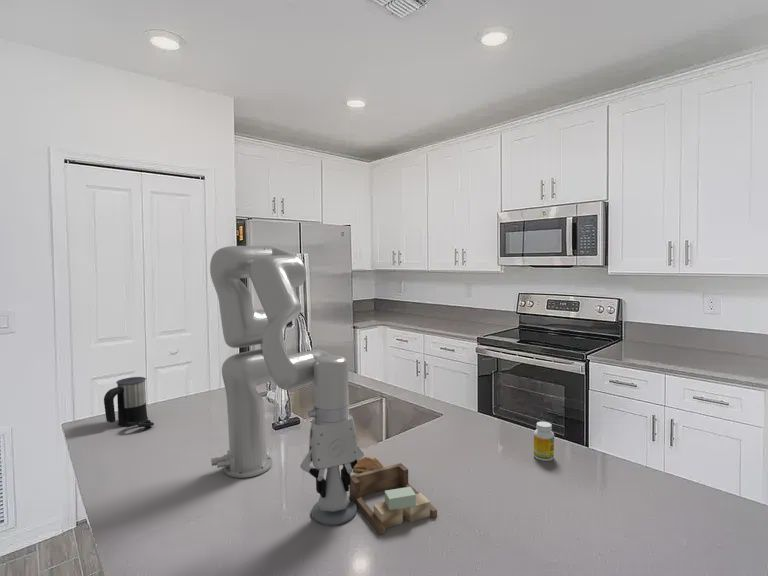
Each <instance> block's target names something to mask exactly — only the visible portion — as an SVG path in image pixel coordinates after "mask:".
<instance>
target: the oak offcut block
mask: <svg viewBox="0 0 768 576" xmlns="http://www.w3.org/2000/svg"><path fill="white" fill-rule="evenodd" d="M373 512H374V514H375V515H376V516H377V517H378V519H379V520H380V521H381V522H382V523H383V525H384V526H385V529H388V528H392V527H395V526H397V525H401V524H403V521H404V520H403V519H404V518H403V517H404V515H403V508H400V509H394V510H389V509H388V507H387V505H386V503H385V501H382V502H378V503H375V504H373Z"/></svg>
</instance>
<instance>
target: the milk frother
mask: <svg viewBox="0 0 768 576" xmlns="http://www.w3.org/2000/svg"><path fill="white" fill-rule="evenodd" d="M146 380H147V378H146V377H143V376H134V377H133V376H132V377H131V376H130V377H124V378H121V379H118V380H117V381H116V384H117V386H116V387H113V388H110V389H108V391H107V392H106V393H105V395H104V397H103V407H104V412H105V420H106V422H108V423H112V424H113V423H114V422H116V412H115V411H116V410H115V403H114V401H115V400H114V399H115V398H117V399H116V400H117V401H116V402H117V418H118V419H117V420H118V421H117V424H118V425H119V426H123V427H129V426H138V427H141V428H145V429H150V426H151V427H152V426H155V422H154V421H151V420H150V419H149V417H148V412H147V411H148V410H147V409H148V408H147V396H146V395H147V392H146ZM116 396H117V397H116Z"/></svg>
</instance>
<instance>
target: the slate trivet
mask: <svg viewBox="0 0 768 576" xmlns="http://www.w3.org/2000/svg"><path fill="white" fill-rule="evenodd" d="M349 500H350V503H349V504H348V506H347V508H346V509H342V510H338V511H334V512H332V511H324V510H321V509H320V507H319V505H318V501H317V502H316V503H315V504H314V505H312V508H311V517H312V519H313V520H314V521H315V522H316V523H318V524H320V525H322V526H329V527H330V526H331V527H332V526H333V527H335V526H341V525H343V524H346V523H350V521H352V520H353V519H354V518H355V516H356V515H357V511H358V506H357V505H356V504H355V502H354V501H353V500H352V499H351V498H349Z"/></svg>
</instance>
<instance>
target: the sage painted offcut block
mask: <svg viewBox="0 0 768 576" xmlns="http://www.w3.org/2000/svg"><path fill="white" fill-rule="evenodd" d="M384 502H385V503H386V505H387V507H388V509H389V510H394V509H400V508H406V507H412V506H416V494H415V493H414V491H413V490H412V488H411V487H405V488H401V487H399V488H395V489H393V488H391V489H385V490H384Z"/></svg>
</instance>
